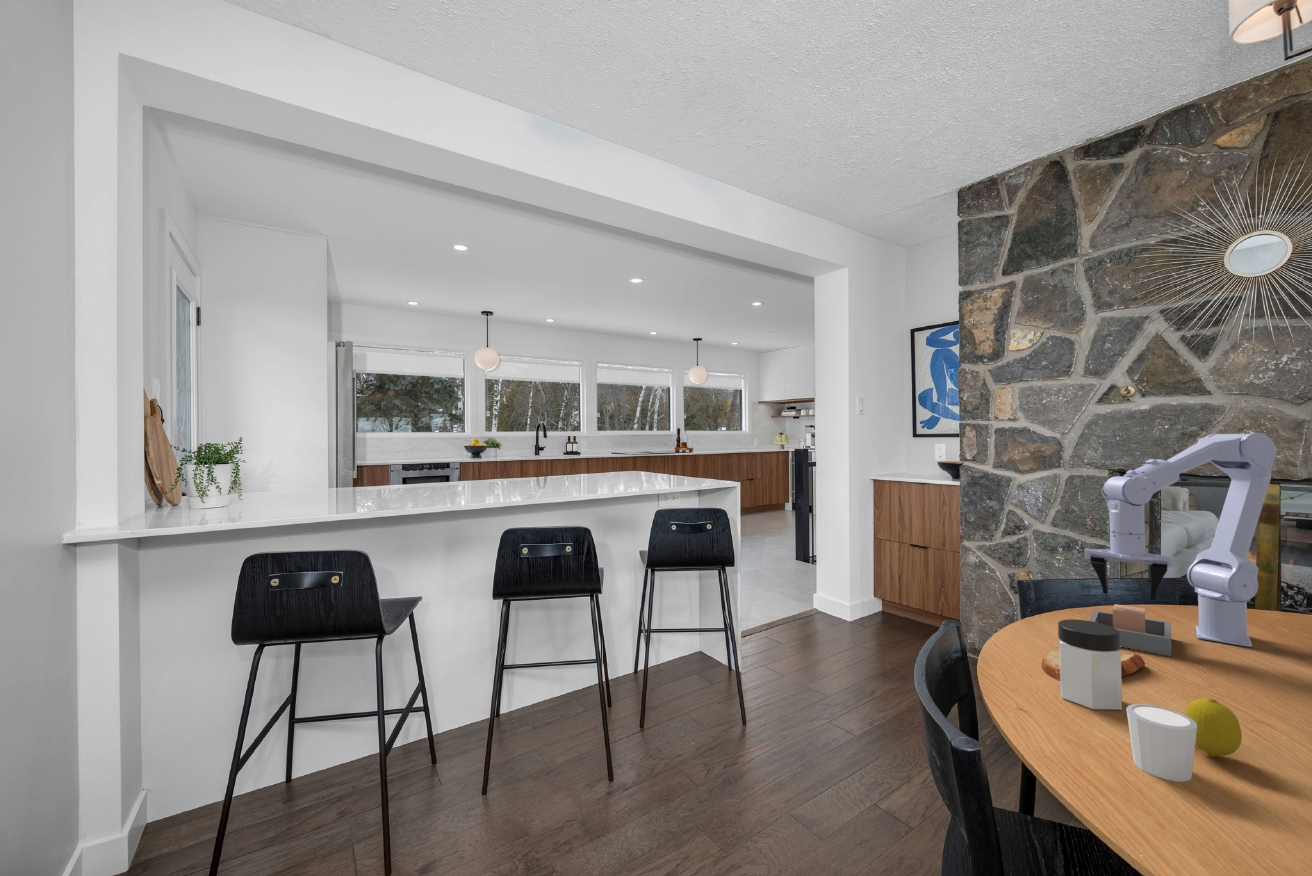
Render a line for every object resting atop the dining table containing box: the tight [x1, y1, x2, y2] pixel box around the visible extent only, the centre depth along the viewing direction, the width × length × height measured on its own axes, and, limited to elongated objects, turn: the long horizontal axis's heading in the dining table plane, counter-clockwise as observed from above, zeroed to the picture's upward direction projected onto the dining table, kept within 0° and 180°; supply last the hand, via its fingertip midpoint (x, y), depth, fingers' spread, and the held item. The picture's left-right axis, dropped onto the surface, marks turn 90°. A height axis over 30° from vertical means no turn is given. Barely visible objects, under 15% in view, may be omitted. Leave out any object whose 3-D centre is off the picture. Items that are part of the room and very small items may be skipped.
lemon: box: [1183, 696, 1243, 758], centre depth 74 cm, size 6×6×8 cm
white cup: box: [1125, 703, 1197, 783], centre depth 72 cm, size 7×7×7 cm
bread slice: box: [1041, 646, 1146, 682], centre depth 103 cm, size 18×18×4 cm
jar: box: [1057, 618, 1123, 711], centre depth 91 cm, size 9×8×12 cm
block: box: [1112, 603, 1146, 633], centre depth 117 cm, size 5×5×6 cm
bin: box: [1088, 610, 1173, 657], centre depth 117 cm, size 13×13×4 cm
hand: (1128, 595), depth 117 cm, fingers open, 7 cm apart
